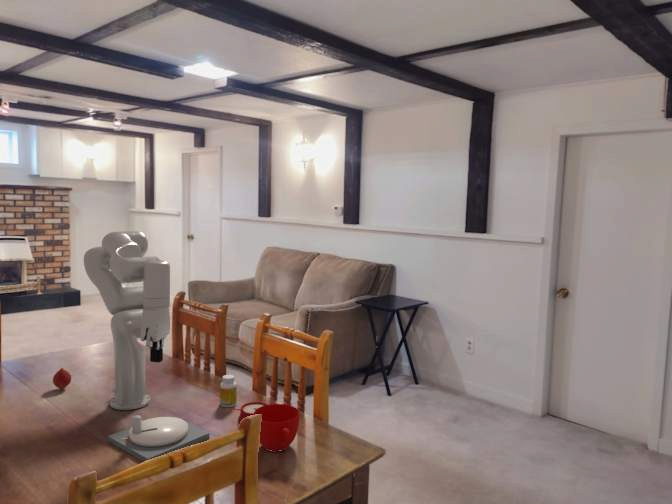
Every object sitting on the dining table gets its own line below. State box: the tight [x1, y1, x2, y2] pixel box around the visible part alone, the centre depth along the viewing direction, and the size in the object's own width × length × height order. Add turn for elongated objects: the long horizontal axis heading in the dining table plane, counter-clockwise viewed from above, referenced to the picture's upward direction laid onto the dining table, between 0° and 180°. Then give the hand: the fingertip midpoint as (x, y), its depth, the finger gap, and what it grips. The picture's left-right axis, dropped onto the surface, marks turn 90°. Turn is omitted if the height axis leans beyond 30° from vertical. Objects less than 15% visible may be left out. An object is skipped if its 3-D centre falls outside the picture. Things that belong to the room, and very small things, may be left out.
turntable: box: [129, 414, 188, 447], centre depth 151 cm, size 16×16×6 cm
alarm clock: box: [233, 401, 268, 423], centre depth 166 cm, size 10×6×15 cm
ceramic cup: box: [253, 403, 301, 451], centre depth 147 cm, size 13×17×10 cm
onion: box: [52, 367, 72, 390], centre depth 187 cm, size 6×6×8 cm
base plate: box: [107, 413, 210, 462], centre depth 151 cm, size 20×20×2 cm
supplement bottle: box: [219, 374, 238, 408], centre depth 178 cm, size 5×5×10 cm
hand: (156, 361), depth 159 cm, fingers closed
